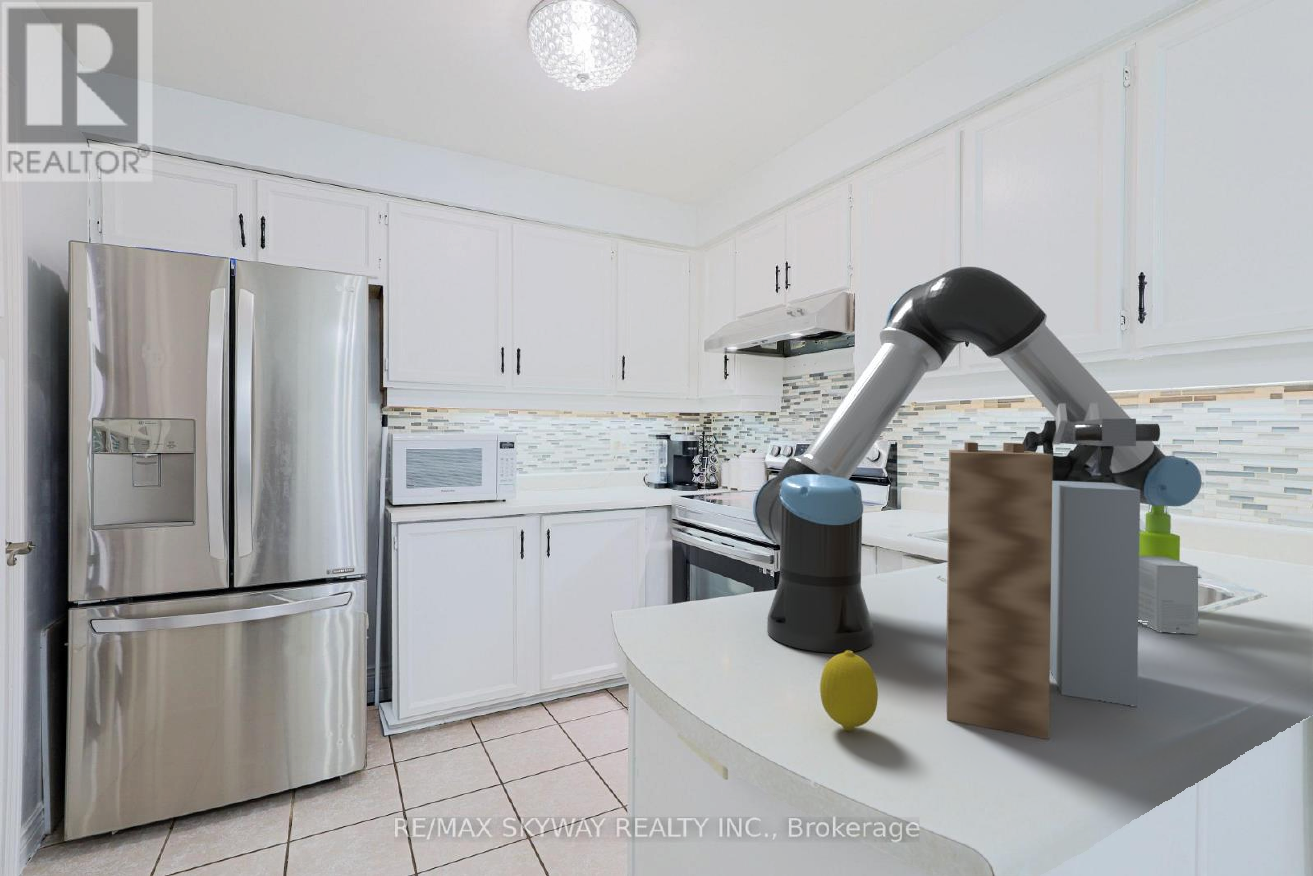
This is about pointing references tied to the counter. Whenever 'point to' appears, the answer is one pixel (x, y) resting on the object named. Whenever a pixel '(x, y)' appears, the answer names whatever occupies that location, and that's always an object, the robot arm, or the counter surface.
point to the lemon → (849, 690)
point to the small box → (1168, 595)
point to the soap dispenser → (1159, 536)
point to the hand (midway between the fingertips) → (1078, 411)
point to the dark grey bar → (1109, 432)
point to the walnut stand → (999, 588)
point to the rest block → (1095, 590)
